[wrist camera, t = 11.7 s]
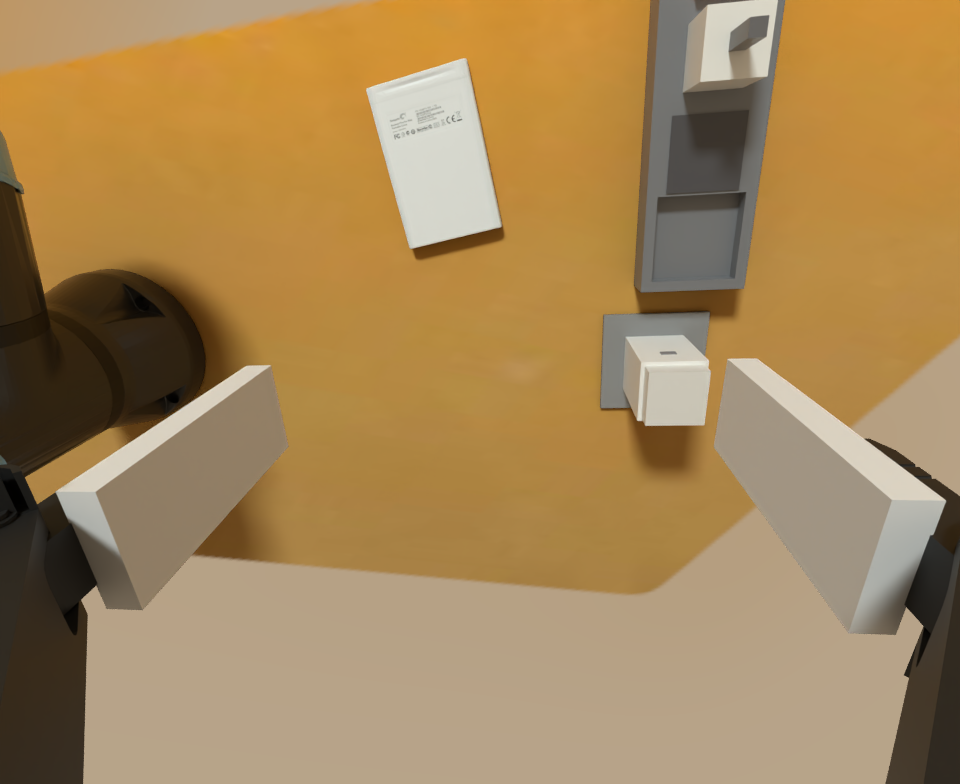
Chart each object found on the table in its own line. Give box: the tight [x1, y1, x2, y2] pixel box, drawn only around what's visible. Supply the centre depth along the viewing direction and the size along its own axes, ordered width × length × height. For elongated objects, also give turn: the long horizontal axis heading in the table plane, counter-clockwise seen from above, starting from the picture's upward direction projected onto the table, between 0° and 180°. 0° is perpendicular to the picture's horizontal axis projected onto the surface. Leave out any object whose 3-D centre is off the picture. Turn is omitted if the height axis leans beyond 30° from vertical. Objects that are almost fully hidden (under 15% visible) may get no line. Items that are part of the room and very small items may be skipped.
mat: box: [600, 311, 710, 408], centre depth 46 cm, size 9×9×1 cm
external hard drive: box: [366, 58, 502, 249], centre depth 41 cm, size 2×8×12 cm
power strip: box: [634, 0, 785, 292], centre depth 33 cm, size 30×8×10 cm, turn 3°
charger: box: [623, 335, 711, 426], centre depth 41 cm, size 5×5×8 cm
